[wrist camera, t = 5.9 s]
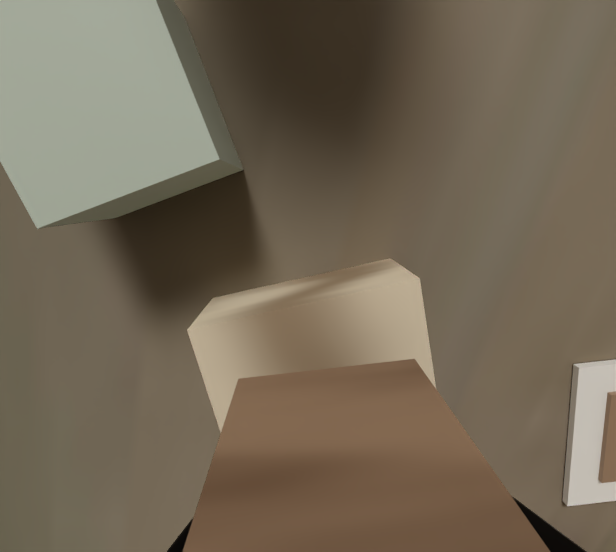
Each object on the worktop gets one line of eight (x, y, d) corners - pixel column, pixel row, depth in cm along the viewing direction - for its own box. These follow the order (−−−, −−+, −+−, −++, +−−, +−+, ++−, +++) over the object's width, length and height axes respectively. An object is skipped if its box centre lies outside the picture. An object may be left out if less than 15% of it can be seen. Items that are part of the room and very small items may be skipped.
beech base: (388, 256, 13) (419, 278, 10) (414, 410, 15) (448, 473, 12) (214, 295, 14) (187, 330, 10) (258, 443, 15) (248, 516, 12)
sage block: (185, 19, 11) (126, -73, 7) (244, 170, 12) (219, 159, 8) (47, 75, 12) (-80, 15, 8) (117, 217, 13) (37, 228, 9)
